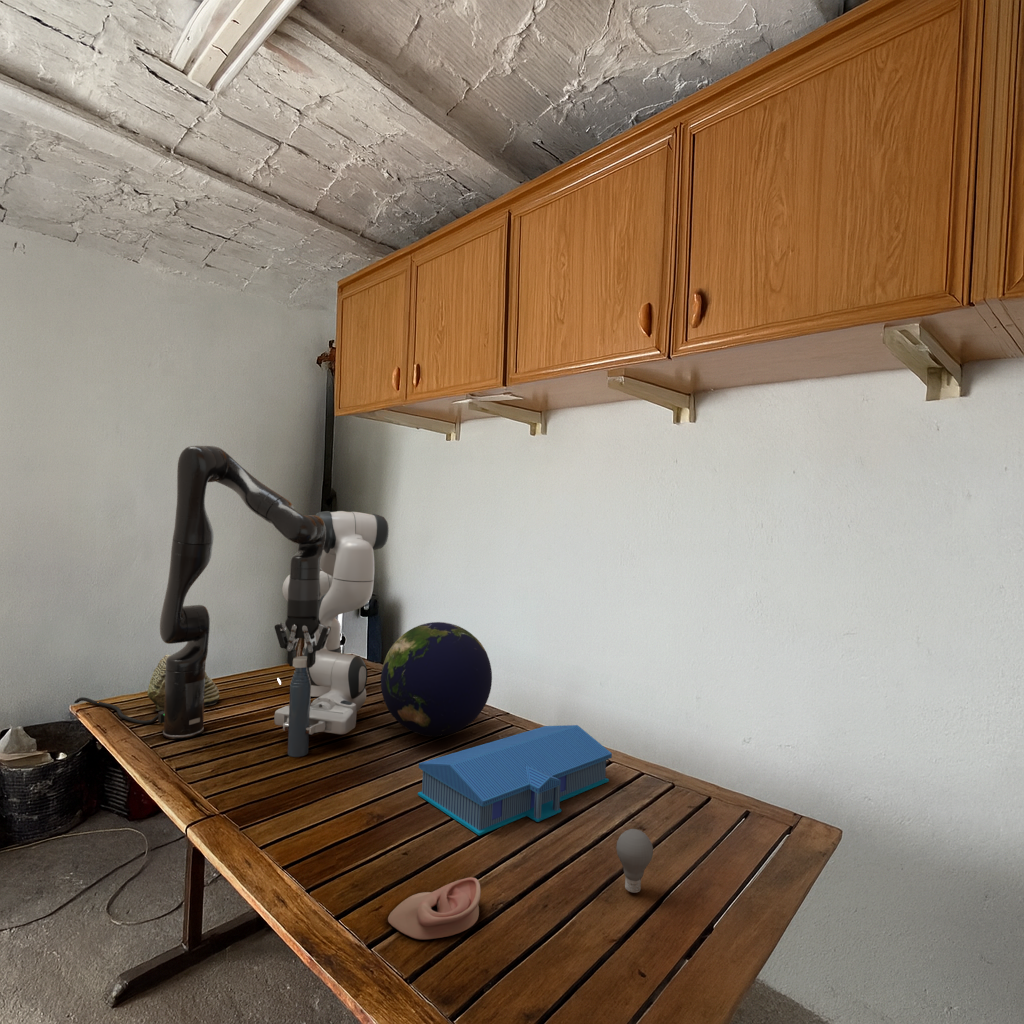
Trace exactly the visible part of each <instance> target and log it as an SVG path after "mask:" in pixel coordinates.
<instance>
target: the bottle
mask: <svg viewBox="0 0 1024 1024" xmlns="http://www.w3.org/2000/svg"><path fill="white" fill-rule="evenodd" d="M294 668H295V667H294ZM311 697H312V696H311V680H310V677H309V674H308V671H307V667H305V668H295V669H294V671H293V674H292V677H291V680H290V684H289V698H288V699H289V701H288V705H289V726H288V731H287V752H286V753H287V756H289V757H291V758H300V757H304V756H306V755H308V754H309V750H310V748H309V747H310V734H306V727H307V726H309V725H310V705H311V700H312V699H311Z"/></svg>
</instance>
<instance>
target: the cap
mask: <svg viewBox="0 0 1024 1024" xmlns="http://www.w3.org/2000/svg"><path fill="white" fill-rule="evenodd" d="M305 667H307V656H303V655H299V656H298V655H297V656H296V657H294V658H293V668H305Z"/></svg>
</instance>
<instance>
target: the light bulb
mask: <svg viewBox="0 0 1024 1024" xmlns="http://www.w3.org/2000/svg"><path fill="white" fill-rule="evenodd" d="M615 849H616V854H617V857H618V859H619V861H620V863H621V865H622V867H623V873H624V874H623V875H624V876H625V878H624V888H625V890H627V891H628V892H630V893H634V894H635V893H639V892H640V891H641V889H642V887H641V886H642V879H643V877H644V875H645V871H646V868H647V867H648V866H649V864H650V863H651V861H652V859H653V855H654V847H653V843H652V841H651V838H649V836H648V835H647V834H646V833H645V832H643V831H642V830H641V829H636V828H629V829H627V830H625V831H623V832H622V833H621V834H620V835H619V837H618V839H617V841H616V847H615Z"/></svg>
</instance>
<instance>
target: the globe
mask: <svg viewBox="0 0 1024 1024" xmlns="http://www.w3.org/2000/svg"><path fill="white" fill-rule="evenodd" d="M380 673H381V674H380V688H381V689H380V690H381V694H382V697H383V701H384V703H385V706H386V708H387V710H388V711H389V713H390V715H391V716H392V717H393V718H394V719H395V721H397V722H398V723H399V724H400V725H401V726H402V727H404V728H405V729H406V730H409V731H410V732H412V733H415V734H417V735H421V736H424V737H443V736H444V737H445V736H449V735H452V734H455V733H457V732H459V731H461V730H464V729H465V728H467V727H468V726H469V725H470V724H472V723H473V722H474V721H475V720H476V719H477V718H478V717H479V716H480V714H481V713H482V711H483V710H484V708H485V706H486V704H487V702H488V700H489V698H490V694H491V690H492V684H493V683H492V682H493V671H492V666H491V660H490V658H489V656H488V652H487V651H486V649H485V647H484V645H483V644H482V643H481V642H480V640H479V639H478V638H477V637H476V636H475V635H473V634H472V633H471V632H469V631H468V630H467V629H466V628H463V627H461V626H460V625H457V624H453V623H450V622H445V621H434V622H432V621H431V622H428V623H423V624H419V625H416V626H415V627H413V628H411V629H409V630H407V631H406V632H404V633H403V634H402V635H401V636H399V637H398V638H397V639H396V641H395V642H394V643H392V645H391V647H390V648H389V650H388V652H387V653H386V656H385V658H384V660H383V664H382V668H381V672H380Z"/></svg>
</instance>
